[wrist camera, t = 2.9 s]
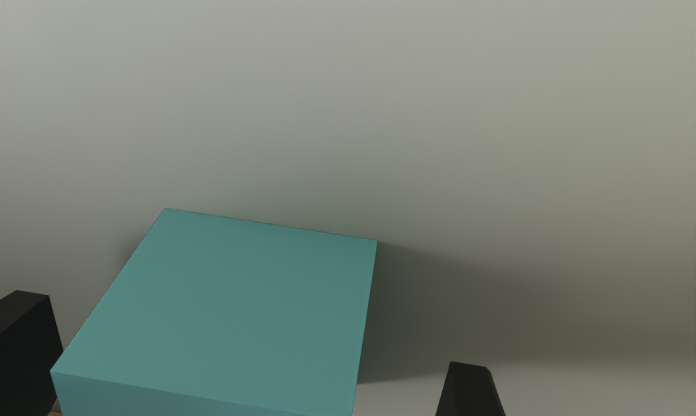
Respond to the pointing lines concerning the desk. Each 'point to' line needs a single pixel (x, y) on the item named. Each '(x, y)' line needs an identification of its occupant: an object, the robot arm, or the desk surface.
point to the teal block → (224, 324)
